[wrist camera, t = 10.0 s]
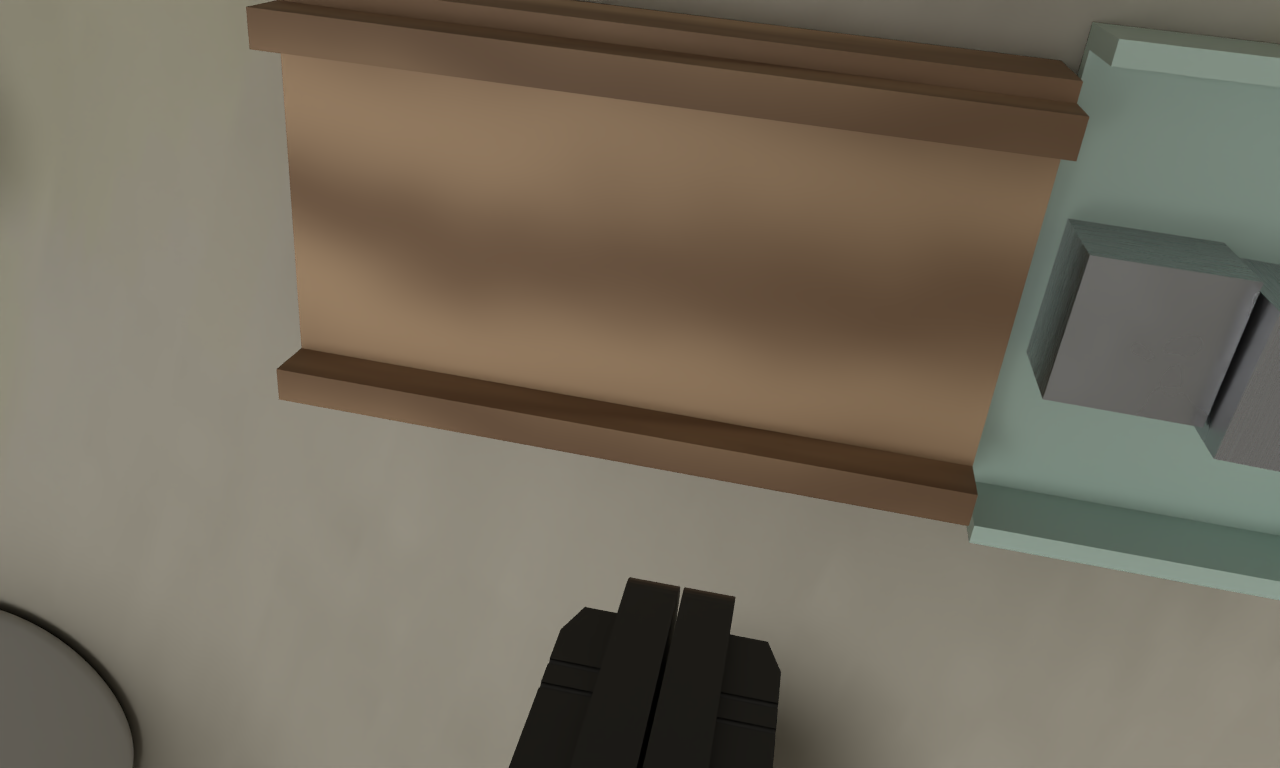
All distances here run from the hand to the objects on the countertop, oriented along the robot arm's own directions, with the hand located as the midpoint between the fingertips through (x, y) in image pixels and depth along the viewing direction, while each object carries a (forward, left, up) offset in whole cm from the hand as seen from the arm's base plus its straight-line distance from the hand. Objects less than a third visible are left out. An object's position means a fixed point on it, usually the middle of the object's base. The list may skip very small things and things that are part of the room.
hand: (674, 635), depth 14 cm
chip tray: (0, +12, -18) cm, 22 cm away
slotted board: (0, -3, -18) cm, 18 cm away
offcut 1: (0, +10, -17) cm, 20 cm away
